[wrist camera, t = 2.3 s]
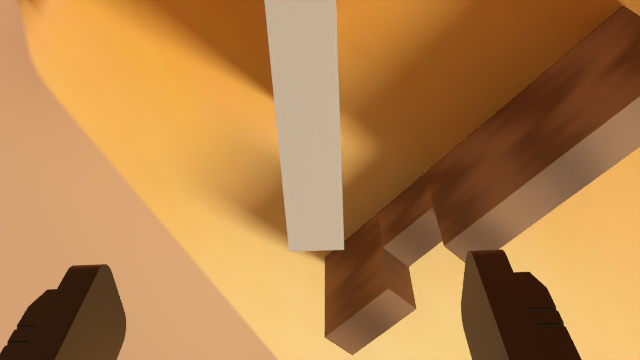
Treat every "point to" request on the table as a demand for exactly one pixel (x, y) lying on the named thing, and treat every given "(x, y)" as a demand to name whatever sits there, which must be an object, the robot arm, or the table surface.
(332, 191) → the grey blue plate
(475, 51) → the table surface
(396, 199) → the walnut board
